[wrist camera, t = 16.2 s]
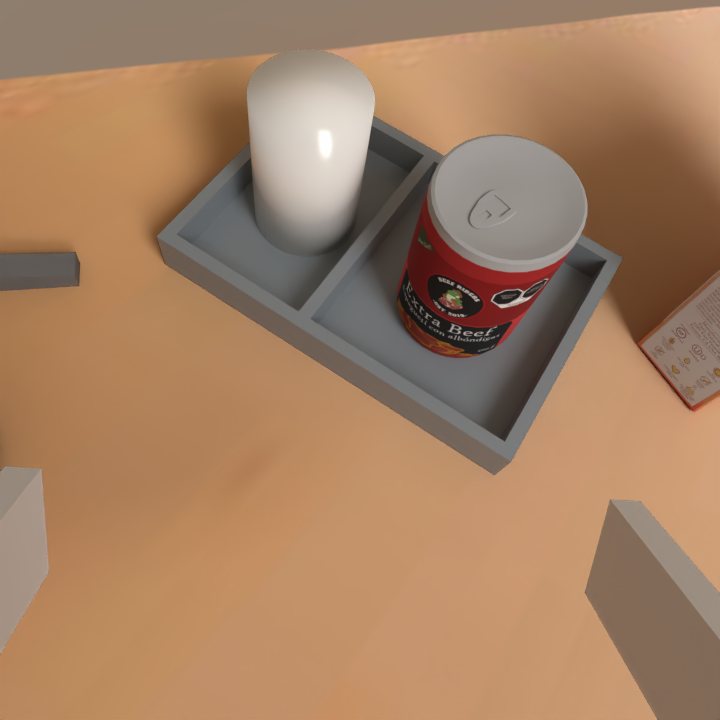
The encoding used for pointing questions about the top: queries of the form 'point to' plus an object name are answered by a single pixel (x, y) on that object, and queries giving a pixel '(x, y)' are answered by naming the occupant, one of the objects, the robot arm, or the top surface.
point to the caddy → (386, 302)
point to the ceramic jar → (308, 148)
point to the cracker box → (690, 346)
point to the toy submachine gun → (38, 270)
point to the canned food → (487, 242)
